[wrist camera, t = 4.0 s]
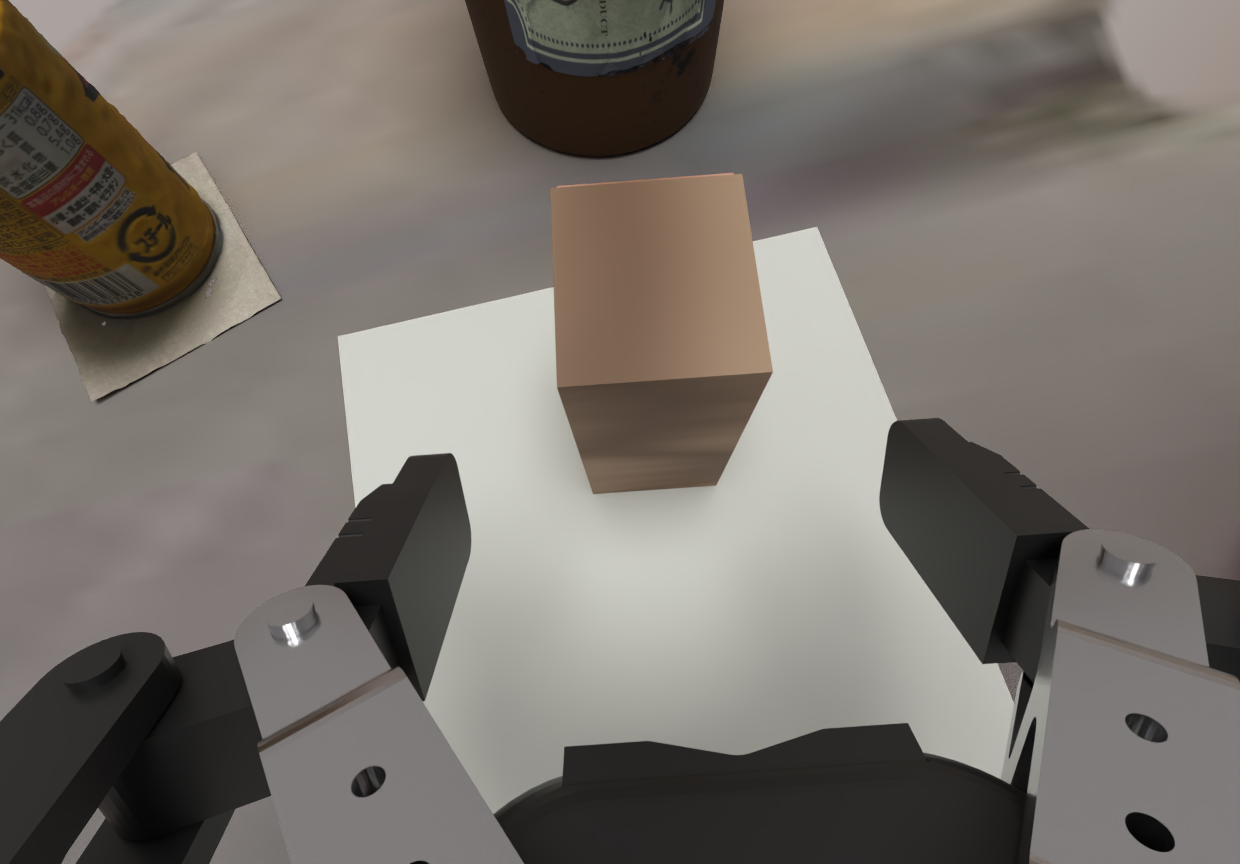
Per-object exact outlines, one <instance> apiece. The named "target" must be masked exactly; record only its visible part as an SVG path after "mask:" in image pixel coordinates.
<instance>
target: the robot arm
mask: <svg viewBox="0 0 1240 864" xmlns="http://www.w3.org/2000/svg"><path fill="white" fill-rule="evenodd" d="M879 504H880V512H881V516H882V519H883V522H884V524H885V527H886V528H887V530H888V531H889V533H890V534H891V535H892V537H893V538H894V540H895V541H896V543H897V544H898V545H899V547H900V548H901V550H902V551H903V552H904V554H905V555H906V557H907V558H908V560H909V561H910V562H911V564H912V565H913V567H914V568H915V569H916V571H917V572H918V574H919V575H920V576H921V578H922V579H923V581H924V582H925V584H926V585H927V586H928V588H929V589H930V591H931V592H932V593H933V595H934V596H935V598H936V599H937V601H938V602H939V603H940V605H941V606H942V608H943V609H944V610H945V612H946V613H947V615H948V616H949V618H950V619H951V620H952V622H953V623H954V625H955V626H956V627H957V629H958V630H959V632H960V633H961V635H962V636H963V637H964V639H965V640H966V642H967V643H968V644H969V646H970V647H971V649H972V650H973V651H974V653H975V654H976V656H977V657H978V659H979V660H980V661H981V663H982V664H993V663H1007V662H1017V663H1018V664H1019V666H1020V667H1021V668H1022V669H1023V671H1022V674H1021V677H1020V680H1019V683H1018V687H1017V692H1016V697H1015V703H1014V708H1013V714H1012V719H1011V725H1010V730H1009V736H1008V741H1007V747H1006V753H1005V758H1004V764H1003V769H1002V775H1001V779H999V778H997V777H995V776H993V775H991V774H988V773H986V772H984V771H982V770H980V769H977V768H975V767H972V766H969V765H967V764H964V763H961V762H958V761H956V760H952V759H949V758H945V757H941V756H937V755H934V754H929V753H924V752H923V751H922V749H921V747H920V745H919V743H918V741H917V740H916V738H915V736H914V734H913V732H912V730H911V728H910V726H909V724H908V723H898V724H884V725H869V726H855V727H841V728H826V729H821V730H818V731H815V732H812V733H809V734H806V735H803V736H800V737H797V738H794V739H791V740H788V741H785V742H782V743H779V744H776V745H773V746H770V747H767V748H764V749H761V750H758V751H755V752H752V753H749V754H745V755H730V754H724V753H718V752H712V751H706V750H700V749H694V748H688V747H682V746H676V745H670V744H664V743H658V742H653V741H639V742H624V743H610V744H595V745H581V746H566V747H564V761H563V776H560V777H557V778H554V779H551V780H548V781H546V782H544V783H542V784H540V785H538V786H536V787H533V788H531V789H529V790H528V791H526V792H524V793H523V794H521V795H519V796H518V797H516V798H514V799H513V800H511V801H510V802H508V803H507V804H506V805H504V806H503V807H502V808H500V809H499V810H498V811H497V812H495V813H494V814H493V813H492V812H491V810H490V808H489V807H488V805H487V804H486V802H485V801H484V799H483V797H482V796H481V794H480V793H479V791H478V789H477V788H476V786H475V785H474V783H473V781H472V780H471V778H470V777H469V775H468V773H467V772H466V770H465V769H464V767H463V765H462V764H461V762H460V761H459V759H458V757H457V756H456V754H455V753H454V751H453V749H452V748H451V746H450V745H449V743H448V741H447V740H446V738H445V737H444V735H443V733H442V732H441V730H440V729H439V727H438V725H437V724H436V722H435V721H434V719H433V717H432V716H431V714H430V713H429V711H428V709H427V708H426V706H425V705H424V703H423V701H425V699H426V696H427V693H428V690H429V686H430V683H431V680H432V677H433V674H434V670H435V667H436V664H437V661H438V657H439V654H440V651H441V648H442V645H443V641H444V638H445V635H446V632H447V628H448V625H449V622H450V619H451V616H452V612H453V609H454V606H455V603H456V599H457V596H458V593H459V590H460V587H461V583H462V580H463V577H464V574H465V570H466V567H467V564H468V561H469V557H470V553H471V527H470V521H469V516H468V512H467V507H466V502H465V498H464V493H463V489H462V484H461V479H460V475H459V470H458V466H457V462H456V459H455V457H454V456H453V454H452V453H442V454H429V455H415V456H410V457H408V459H407V460H406V462H405V463H404V465H403V467H402V469H401V470H400V472H399V474H398V475H397V477H396V479H395V480H394V482H393V484H382V485H380V486H379V487H378V488H376V489H375V490H374V491H372V492H371V493H370V494H369V495H367V496H366V497H365V498H363V499H362V500H361V501H360V502H359V504H358V505H357V507H356V508H355V510H354V511H353V513H352V514H351V516H350V517H349V519H348V520H349V522H348V523H346V524H345V525H344V527H343V528H342V530H341V531H340V533H339V538H336V539H335V540H334V542H333V544H332V545H331V547H330V548H329V550H328V551H327V553H326V554H325V556H324V557H323V559H322V560H321V562H320V564H319V565H318V567H317V568H316V570H315V571H314V573H313V574H312V576H311V577H310V579H309V580H308V582H307V584H306V585H305V586H304V587H300V588H296V589H293V590H290V591H287V592H285V593H282V594H280V595H278V596H276V597H274V598H272V599H270V600H268V601H267V602H265V603H263V604H262V605H261V606H259V607H258V608H256V609H255V610H254V611H253V612H252V613H251V614H249V615H248V616H247V618H246V619H245V620H244V621H243V622H242V623H241V625H240V626H239V628H238V630H237V632H236V634H235V638H234V640H231V641H228V642H225V643H222V644H218V645H215V646H211V647H208V648H204V649H201V650H197V651H194V652H190V653H187V654H183V655H180V656H177V657H173V658H172V656H171V654H170V652H169V650H168V649H167V647H166V645H165V643H164V641H163V640H162V639H161V637H159V636H157V635H155V634H152V633H146V632H136V633H128V634H123V635H119V636H115V637H111V638H109V639H106V640H103V641H100V642H98V643H95V644H93V645H91V646H89V647H87V648H85V649H83V650H81V651H79V652H77V653H75V654H74V655H72V656H70V657H69V658H67V659H65V660H64V661H63V662H61V663H60V664H58V665H57V666H55V667H54V668H53V669H52V670H50V671H49V672H48V673H47V674H46V675H45V676H44V677H43V678H42V679H40V680H39V681H38V682H37V684H36V685H35V686H34V687H33V688H32V689H31V690H30V691H29V692H28V693H27V694H26V695H25V696H24V697H23V698H22V699H21V700H20V701H19V702H18V704H17V705H16V706H15V707H14V708H13V709H12V710H11V711H10V712H9V713H8V714H7V715H6V716H5V717H4V718H3V719H2V720H1V721H0V864H61V863H62V861H63V859H64V857H65V855H66V854H67V852H68V850H69V849H70V847H71V846H72V844H73V843H74V842H75V840H76V839H77V837H78V836H79V834H80V833H81V831H82V830H83V828H84V827H85V825H86V824H87V823H88V821H89V820H90V818H91V817H92V815H93V814H94V812H95V811H96V809H97V808H99V809H100V811H101V812H102V813H103V815H104V816H105V818H106V819H105V820H104V822H103V823H102V825H101V826H100V828H99V829H98V831H97V832H96V834H95V835H94V837H93V838H92V840H91V841H90V843H89V844H88V846H87V847H86V849H85V850H84V852H83V853H82V855H81V856H80V858H79V859H78V861H77V863H76V864H209V863H210V861H211V858H212V856H213V854H214V852H215V850H216V848H217V846H218V844H219V842H220V840H221V838H222V836H223V834H224V831H225V829H226V827H227V825H228V823H229V821H230V819H231V817H232V815H233V813H234V811H235V809H236V808H238V807H241V806H244V805H247V804H249V803H252V802H255V801H258V800H260V799H263V798H266V797H269V796H272V799H273V803H274V806H275V810H276V813H277V817H278V820H279V823H280V827H281V830H282V834H283V837H284V841H285V844H286V847H287V851H288V854H289V858H290V861H291V864H1240V581H1236V580H1229V579H1221V578H1213V577H1205V576H1197V575H1195V573H1194V571H1193V570H1192V568H1191V567H1190V566H1189V565H1188V564H1187V563H1186V562H1185V561H1184V560H1183V559H1182V558H1180V557H1179V556H1178V555H1176V554H1175V553H1173V552H1172V551H1170V550H1168V549H1166V548H1164V547H1163V546H1161V545H1159V544H1156V543H1154V542H1152V541H1149V540H1147V539H1144V538H1141V537H1138V536H1135V535H1131V534H1127V533H1123V532H1118V531H1112V530H1104V529H1089V528H1088V527H1087V526H1085V525H1084V524H1083V523H1082V522H1081V521H1079V520H1078V519H1077V518H1076V517H1074V516H1073V515H1072V514H1071V513H1070V512H1068V511H1067V510H1066V509H1065V508H1064V507H1062V506H1061V505H1060V504H1059V503H1058V502H1056V501H1055V500H1054V499H1053V498H1051V497H1050V496H1049V495H1048V494H1047V493H1045V492H1044V491H1043V490H1042V489H1037V488H1036V484H1035V483H1033V482H1032V481H1031V480H1030V479H1028V478H1027V477H1026V476H1025V475H1020V471H1019V470H1018V469H1016V468H1015V467H1014V466H1013V465H1011V464H1010V463H1009V462H1008V461H1007V460H1005V459H1004V458H1003V457H1002V456H1001V455H999V454H997V453H994V452H992V451H990V450H988V449H986V448H983V447H981V446H979V445H977V444H975V443H973V442H967V441H966V440H965V439H964V438H963V437H962V436H961V435H959V434H958V433H957V432H956V431H955V430H954V429H952V428H951V427H950V426H949V425H948V424H947V423H945V422H944V421H943V420H942V419H939V418H930V419H916V420H903V421H895V422H894V423H893V424H892V425H891V427H890V429H889V432H888V437H887V444H886V452H885V459H884V466H883V473H882V480H881V487H880V495H879Z"/></svg>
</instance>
